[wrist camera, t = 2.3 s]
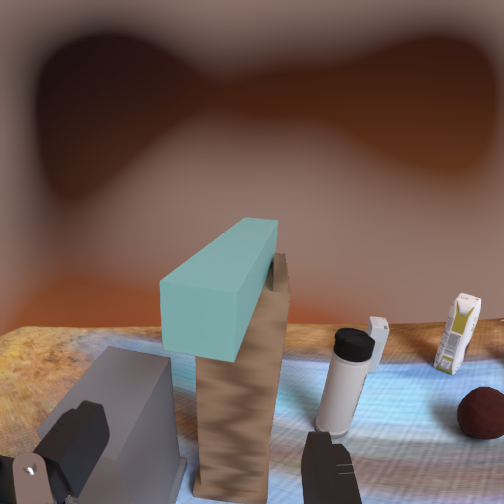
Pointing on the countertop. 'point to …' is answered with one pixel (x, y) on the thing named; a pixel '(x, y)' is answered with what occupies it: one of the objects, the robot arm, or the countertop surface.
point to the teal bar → (217, 291)
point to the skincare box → (377, 340)
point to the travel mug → (344, 381)
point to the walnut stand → (243, 401)
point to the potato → (482, 413)
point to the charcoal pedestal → (130, 429)
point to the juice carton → (457, 333)
